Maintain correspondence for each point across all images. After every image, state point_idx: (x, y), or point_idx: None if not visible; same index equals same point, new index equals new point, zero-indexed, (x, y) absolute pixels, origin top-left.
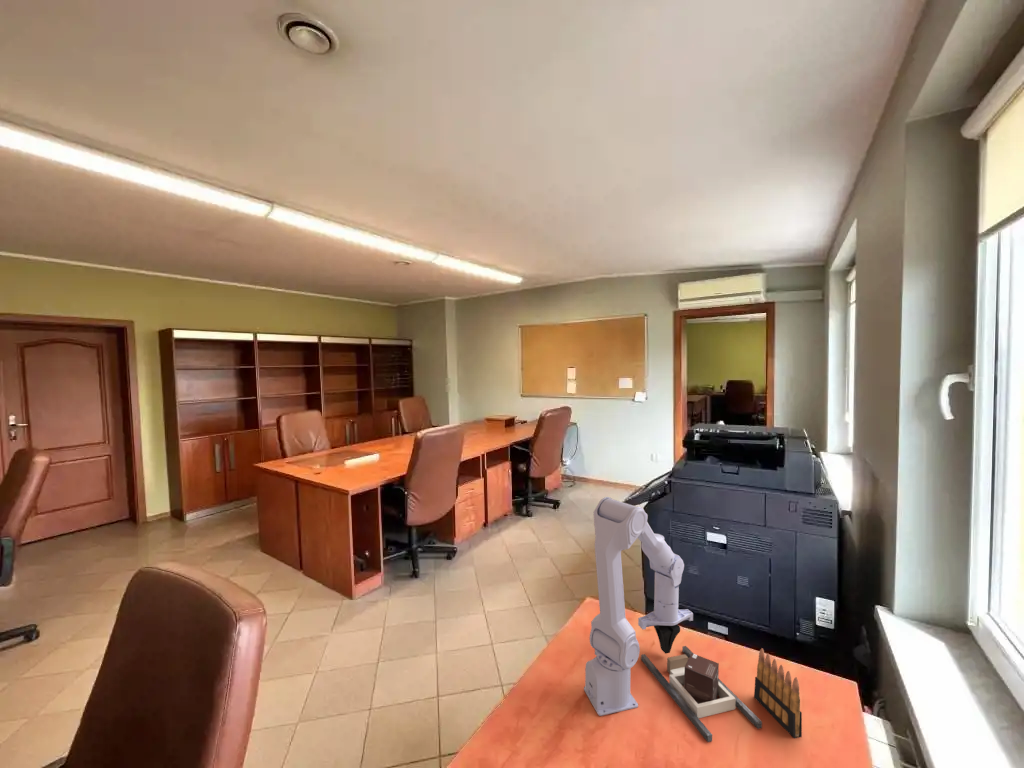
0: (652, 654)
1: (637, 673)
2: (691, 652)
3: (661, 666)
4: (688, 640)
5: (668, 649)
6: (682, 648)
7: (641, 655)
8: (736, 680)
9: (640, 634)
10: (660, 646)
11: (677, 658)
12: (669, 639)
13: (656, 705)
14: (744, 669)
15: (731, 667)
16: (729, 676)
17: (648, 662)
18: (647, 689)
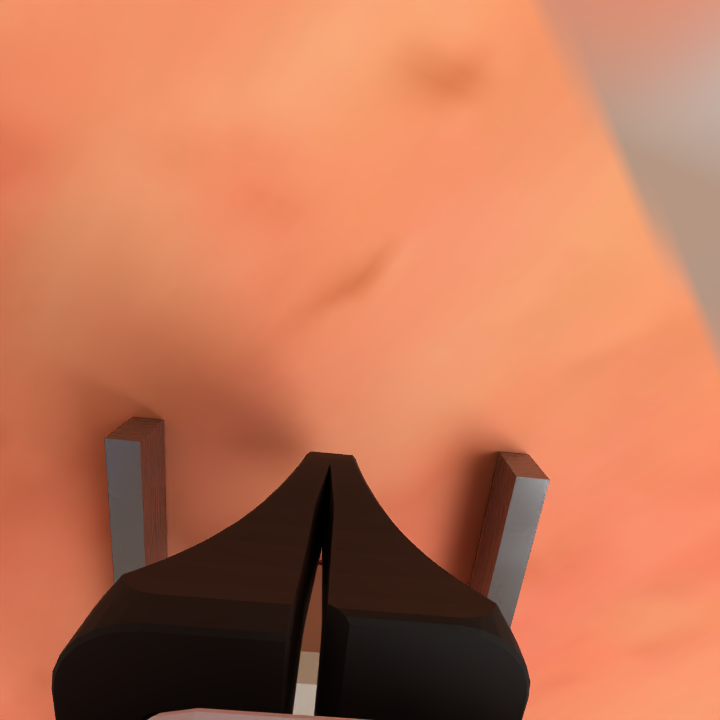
0: (260, 392)
1: (41, 507)
2: (522, 549)
3: (246, 509)
4: (665, 361)
5: (320, 552)
6: (510, 466)
7: (107, 440)
8: (586, 716)
9: (325, 119)
10: (303, 460)
11: (300, 674)
12: (320, 644)
13: (37, 707)
14: (714, 679)
15: (663, 649)
16: (580, 688)
17: (115, 527)
18: (41, 621)
